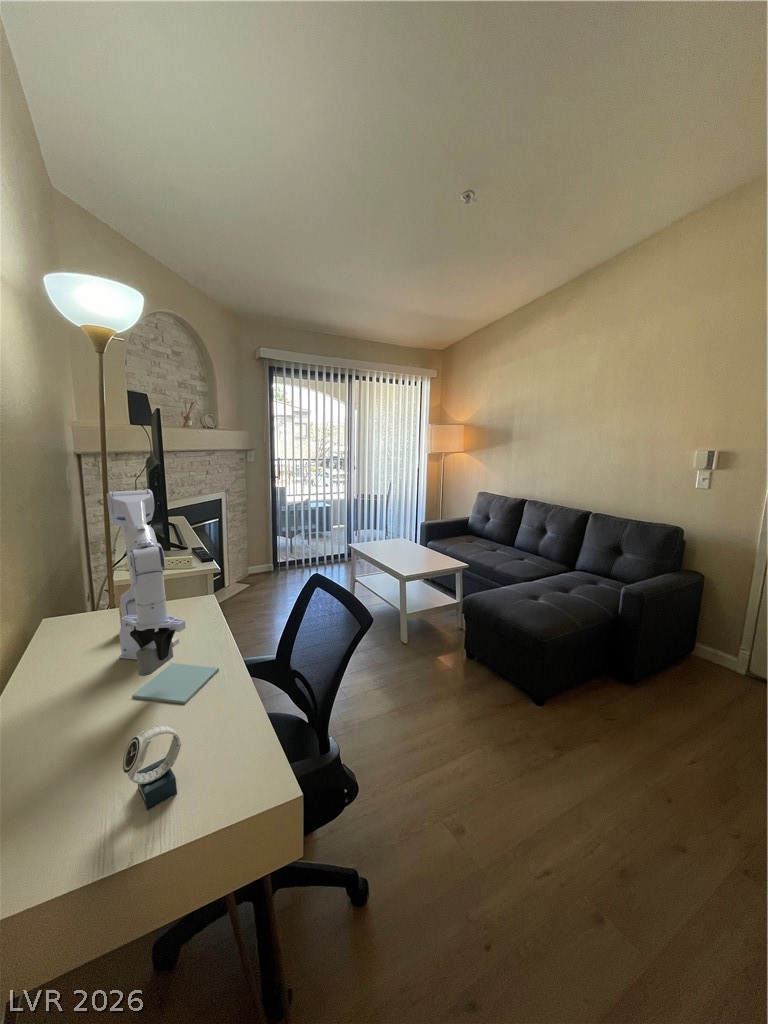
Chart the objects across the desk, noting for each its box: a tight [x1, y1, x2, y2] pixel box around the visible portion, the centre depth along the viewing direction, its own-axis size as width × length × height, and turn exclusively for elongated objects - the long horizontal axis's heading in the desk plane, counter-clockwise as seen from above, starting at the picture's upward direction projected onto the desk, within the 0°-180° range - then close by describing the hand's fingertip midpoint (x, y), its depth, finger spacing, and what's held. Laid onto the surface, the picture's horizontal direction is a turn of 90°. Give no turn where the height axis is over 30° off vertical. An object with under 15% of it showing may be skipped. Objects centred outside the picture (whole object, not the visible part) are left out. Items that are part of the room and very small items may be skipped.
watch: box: [122, 724, 182, 811], centre depth 63 cm, size 6×8×11 cm
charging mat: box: [132, 662, 220, 705], centre depth 93 cm, size 13×13×1 cm
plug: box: [136, 637, 180, 677], centre depth 89 cm, size 3×11×5 cm, turn 170°
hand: (156, 657), depth 88 cm, fingers closed on plug, 3 cm apart
